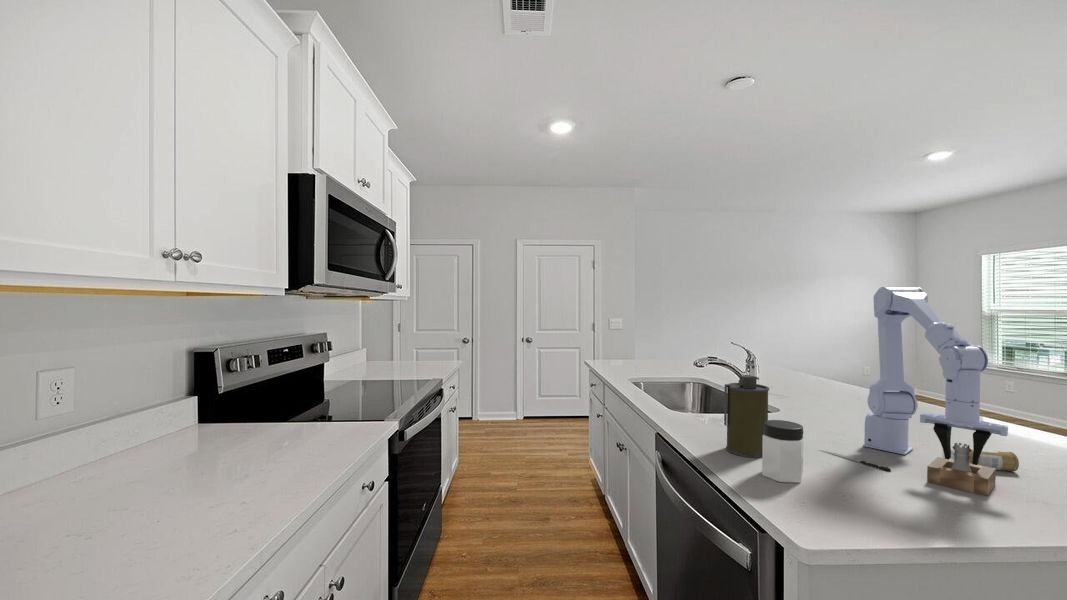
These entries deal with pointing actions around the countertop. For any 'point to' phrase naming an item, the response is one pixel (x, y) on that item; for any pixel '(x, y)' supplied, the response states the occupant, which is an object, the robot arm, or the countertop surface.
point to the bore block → (962, 476)
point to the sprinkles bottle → (994, 459)
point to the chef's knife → (858, 460)
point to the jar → (782, 451)
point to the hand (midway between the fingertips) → (961, 461)
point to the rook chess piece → (961, 457)
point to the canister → (745, 416)
